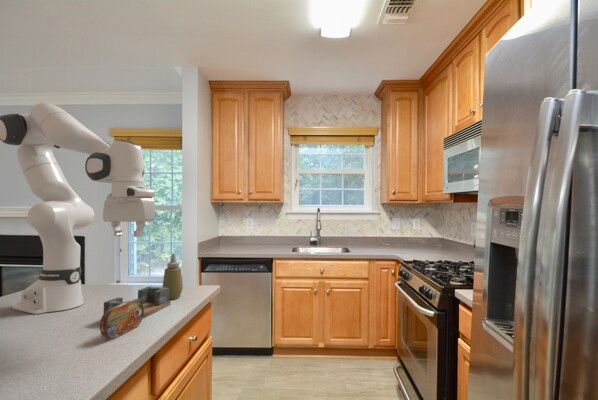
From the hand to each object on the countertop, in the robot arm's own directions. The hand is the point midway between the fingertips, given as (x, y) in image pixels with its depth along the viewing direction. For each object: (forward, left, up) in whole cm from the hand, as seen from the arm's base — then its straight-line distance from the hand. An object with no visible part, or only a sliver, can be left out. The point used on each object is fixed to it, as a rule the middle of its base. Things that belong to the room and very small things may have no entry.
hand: (127, 236), depth 98 cm
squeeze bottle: (-5, +33, -28) cm, 44 cm away
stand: (-5, +13, -28) cm, 31 cm away
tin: (+2, -3, -28) cm, 29 cm away
